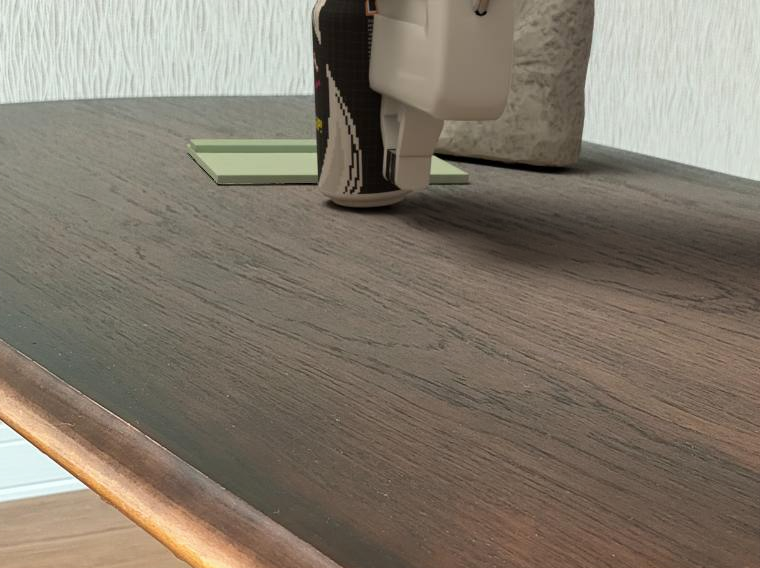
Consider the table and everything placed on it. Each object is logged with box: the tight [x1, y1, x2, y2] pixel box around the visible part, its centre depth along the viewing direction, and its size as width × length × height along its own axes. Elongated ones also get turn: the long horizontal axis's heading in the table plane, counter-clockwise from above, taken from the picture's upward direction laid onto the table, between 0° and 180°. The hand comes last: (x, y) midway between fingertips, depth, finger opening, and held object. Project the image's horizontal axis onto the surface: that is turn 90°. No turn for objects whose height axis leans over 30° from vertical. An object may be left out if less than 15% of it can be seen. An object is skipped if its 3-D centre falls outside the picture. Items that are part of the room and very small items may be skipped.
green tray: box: [186, 138, 470, 185], centre depth 94 cm, size 16×12×1 cm
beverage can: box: [311, 0, 414, 208], centre depth 81 cm, size 6×6×12 cm
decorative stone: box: [434, 0, 596, 168], centre depth 96 cm, size 11×6×15 cm, turn 46°
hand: (405, 185), depth 78 cm, fingers closed
